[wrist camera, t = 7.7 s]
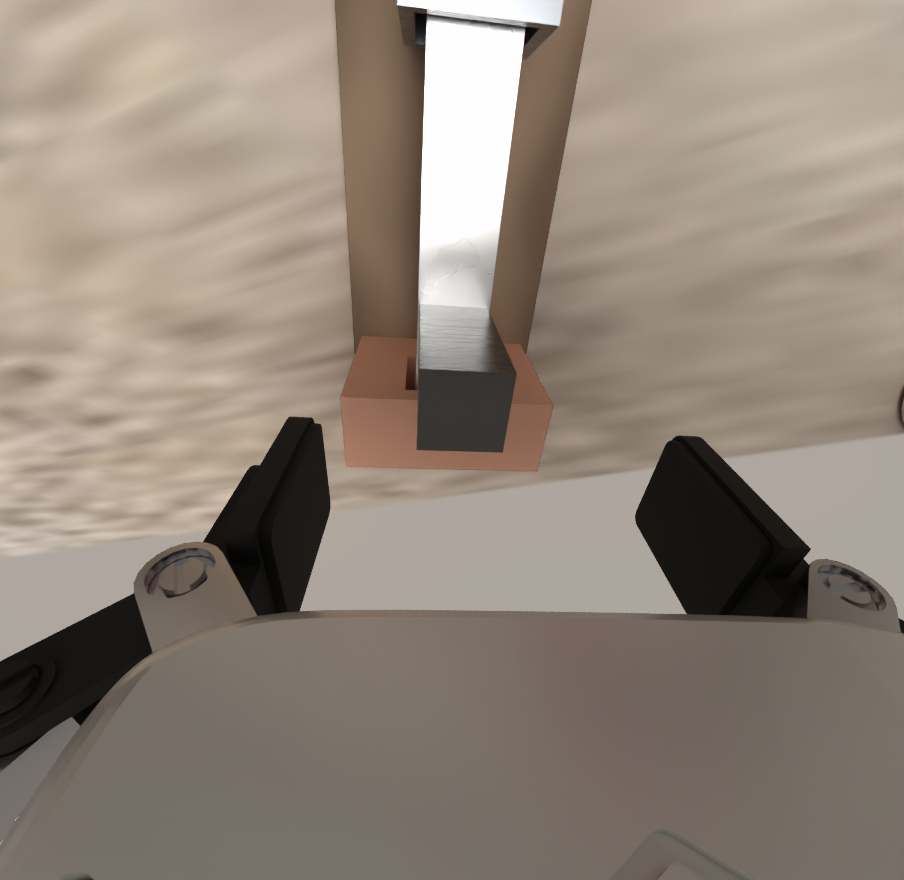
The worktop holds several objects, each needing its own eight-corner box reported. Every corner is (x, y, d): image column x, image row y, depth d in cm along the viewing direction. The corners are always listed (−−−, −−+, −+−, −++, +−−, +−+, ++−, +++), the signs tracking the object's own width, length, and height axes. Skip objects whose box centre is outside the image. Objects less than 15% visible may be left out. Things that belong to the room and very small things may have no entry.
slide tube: (522, -76, 14) (665, -418, 6) (468, 405, 25) (491, 528, 16) (430, -90, 14) (442, -471, 6) (415, 403, 24) (411, 527, 16)
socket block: (520, 344, 26) (553, 405, 20) (510, 399, 29) (537, 471, 22) (361, 335, 25) (340, 397, 19) (364, 393, 28) (345, 466, 21)
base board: (655, -411, 14) (679, -469, 12) (513, 389, 30) (517, 399, 29) (314, -492, 13) (302, -564, 11) (359, 383, 29) (356, 393, 28)
